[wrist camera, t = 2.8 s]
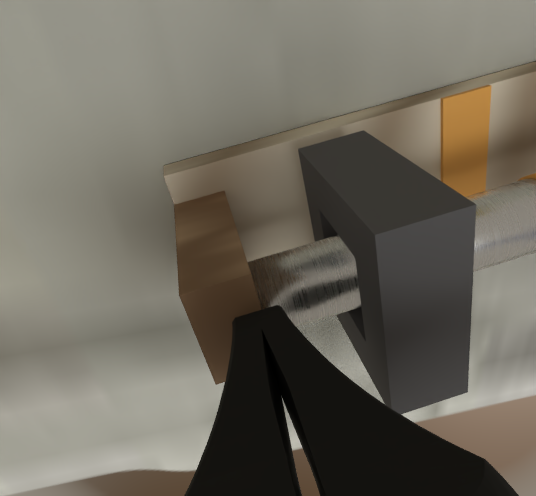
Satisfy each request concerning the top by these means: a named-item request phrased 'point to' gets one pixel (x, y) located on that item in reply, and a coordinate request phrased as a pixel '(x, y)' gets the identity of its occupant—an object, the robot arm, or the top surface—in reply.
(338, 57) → the top surface
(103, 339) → the top surface
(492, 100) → the pipe stand
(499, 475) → the robot arm
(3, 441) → the top surface
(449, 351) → the collar
